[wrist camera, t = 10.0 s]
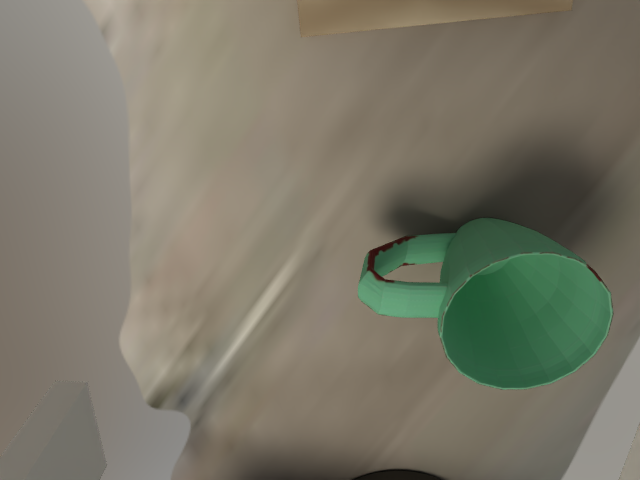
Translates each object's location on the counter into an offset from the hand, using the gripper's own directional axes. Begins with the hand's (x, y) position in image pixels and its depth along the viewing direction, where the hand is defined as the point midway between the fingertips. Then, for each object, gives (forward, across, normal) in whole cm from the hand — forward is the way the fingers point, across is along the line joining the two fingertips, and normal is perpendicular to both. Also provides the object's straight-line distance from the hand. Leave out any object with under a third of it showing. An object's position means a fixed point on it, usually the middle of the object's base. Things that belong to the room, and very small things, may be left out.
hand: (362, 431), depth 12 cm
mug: (+26, -8, +7) cm, 28 cm away
